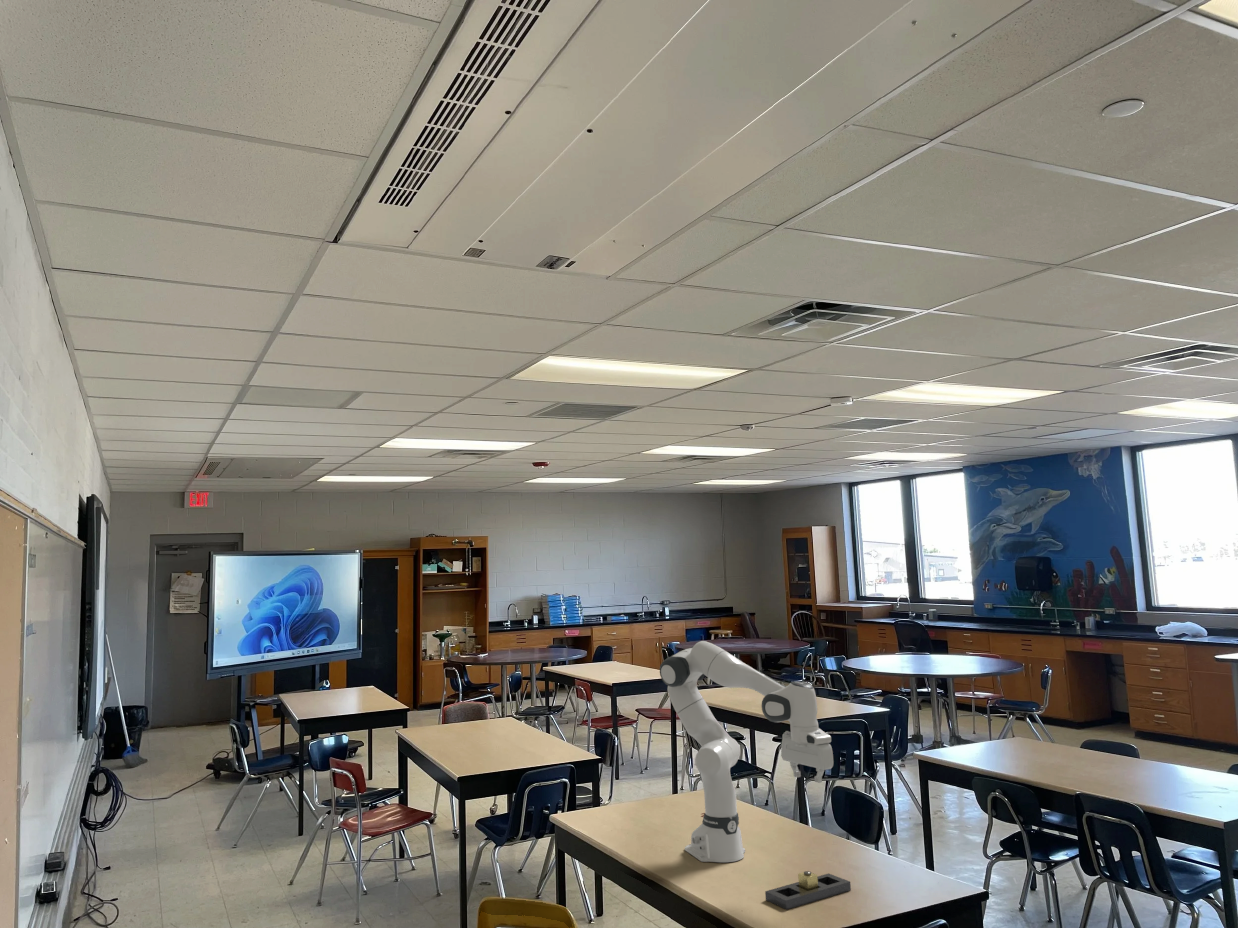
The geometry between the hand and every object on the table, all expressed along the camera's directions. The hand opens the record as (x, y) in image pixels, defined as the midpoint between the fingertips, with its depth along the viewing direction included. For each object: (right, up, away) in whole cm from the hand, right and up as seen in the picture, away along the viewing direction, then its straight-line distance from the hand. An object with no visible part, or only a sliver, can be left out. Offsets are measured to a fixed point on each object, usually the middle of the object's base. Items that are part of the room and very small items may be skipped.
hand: (807, 779), depth 261 cm
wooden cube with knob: (-3, -30, -14) cm, 33 cm away
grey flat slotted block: (-3, -30, -14) cm, 33 cm away
